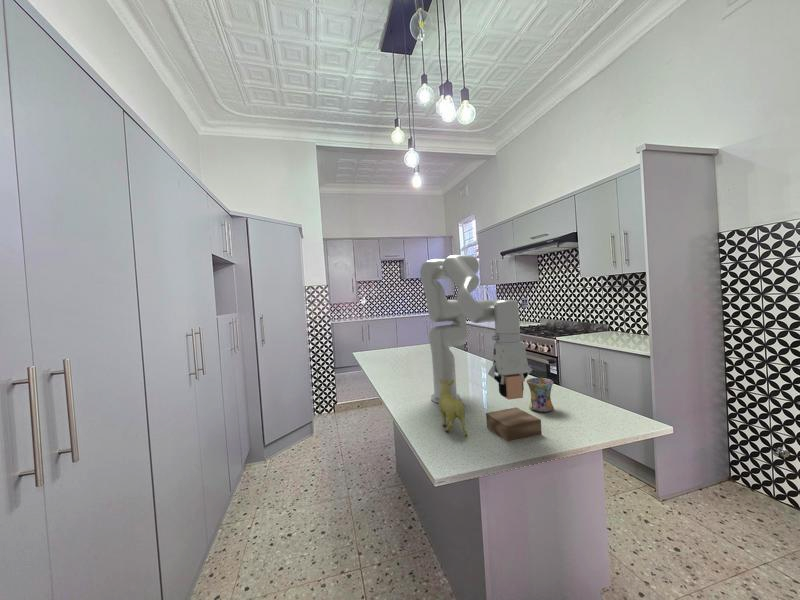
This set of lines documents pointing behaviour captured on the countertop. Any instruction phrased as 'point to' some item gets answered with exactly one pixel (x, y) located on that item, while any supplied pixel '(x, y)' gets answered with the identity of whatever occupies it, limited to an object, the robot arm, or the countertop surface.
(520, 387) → the terracotta block
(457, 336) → the robot arm
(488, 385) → the countertop surface
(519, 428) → the walnut box
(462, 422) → the toy
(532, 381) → the mug
